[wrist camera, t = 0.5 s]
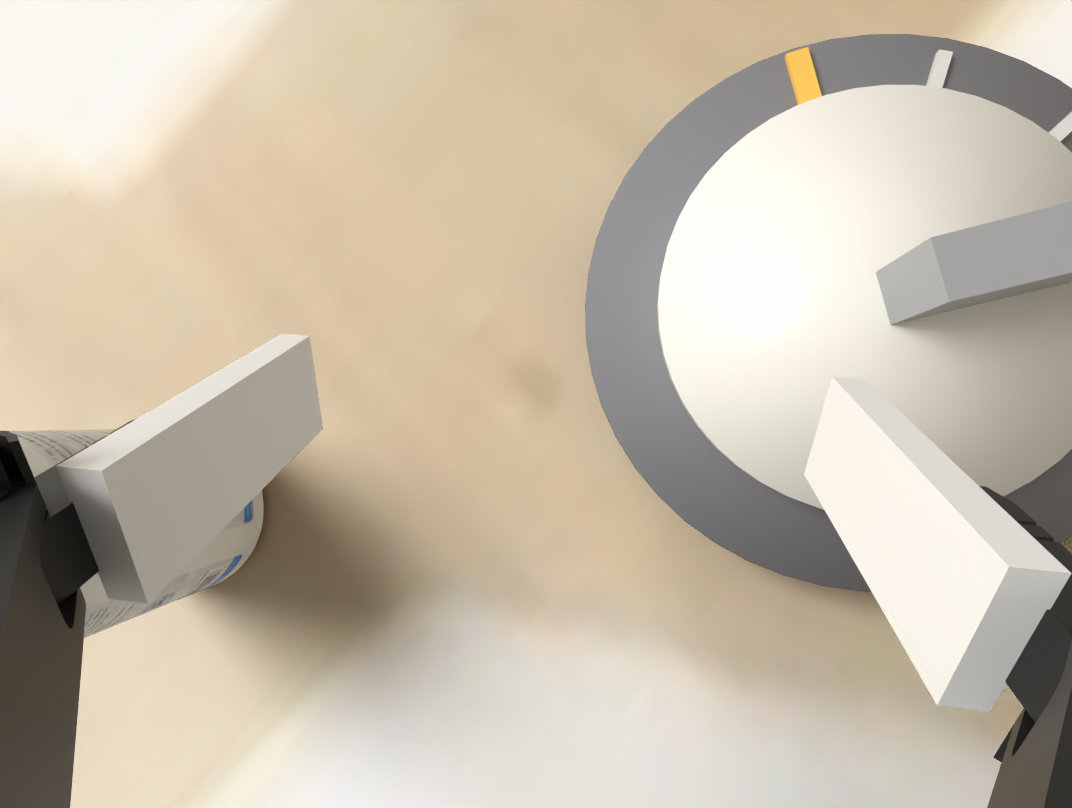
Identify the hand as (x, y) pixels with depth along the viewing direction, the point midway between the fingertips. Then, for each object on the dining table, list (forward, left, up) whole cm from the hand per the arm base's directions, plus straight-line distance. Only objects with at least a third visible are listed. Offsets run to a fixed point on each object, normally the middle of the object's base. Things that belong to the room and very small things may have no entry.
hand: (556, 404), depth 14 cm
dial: (+2, -16, -13) cm, 21 cm away
